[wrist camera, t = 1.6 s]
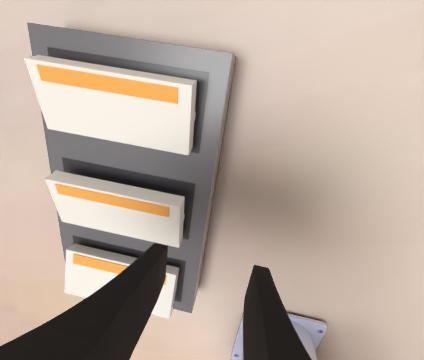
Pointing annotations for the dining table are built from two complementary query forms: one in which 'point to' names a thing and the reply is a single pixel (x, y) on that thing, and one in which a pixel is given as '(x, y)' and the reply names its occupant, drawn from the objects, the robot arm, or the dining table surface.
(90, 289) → the rocker
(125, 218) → the rocker middle
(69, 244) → the switch panel
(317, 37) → the dining table surface
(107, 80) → the rocker
